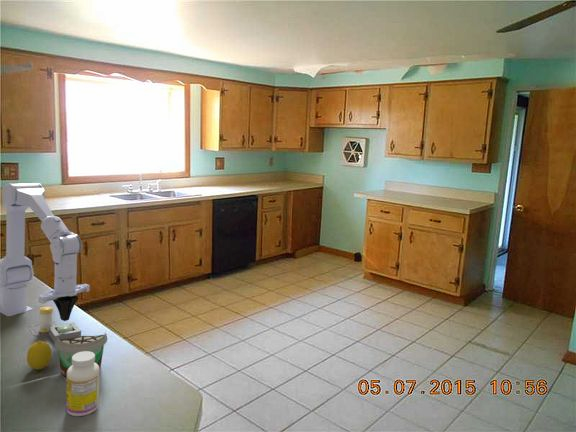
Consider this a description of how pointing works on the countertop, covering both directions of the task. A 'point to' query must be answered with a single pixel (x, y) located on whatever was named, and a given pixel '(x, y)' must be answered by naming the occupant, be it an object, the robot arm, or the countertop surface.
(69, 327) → the button
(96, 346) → the food container
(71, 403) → the supplement bottle
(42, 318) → the two-tone rounded cylinder
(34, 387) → the countertop surface
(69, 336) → the button housing
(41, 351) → the lemon
